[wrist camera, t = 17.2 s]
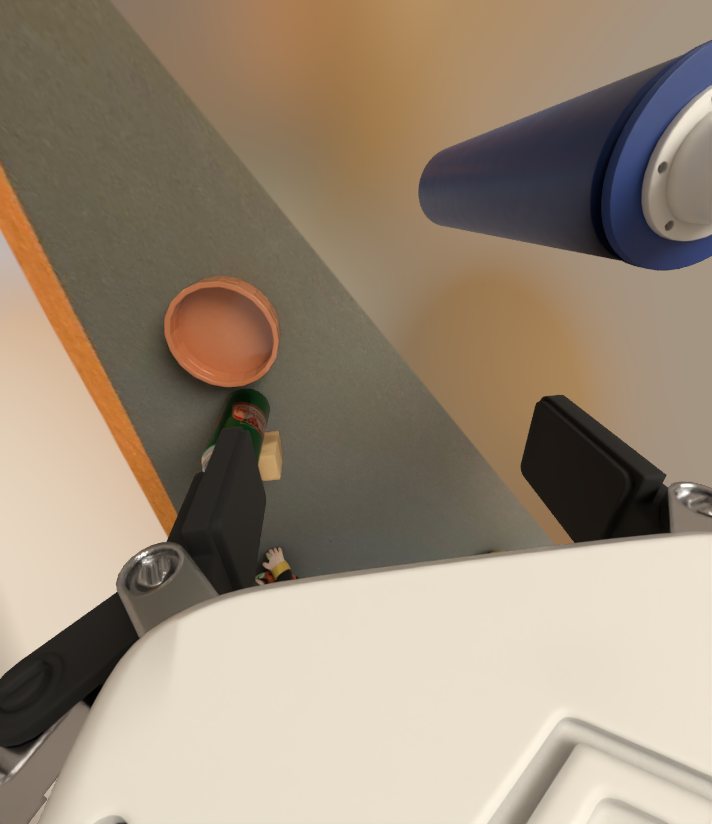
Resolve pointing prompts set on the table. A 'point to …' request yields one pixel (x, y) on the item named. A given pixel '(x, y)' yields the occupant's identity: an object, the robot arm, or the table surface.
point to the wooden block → (271, 457)
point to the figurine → (274, 569)
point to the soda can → (241, 420)
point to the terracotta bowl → (223, 331)
